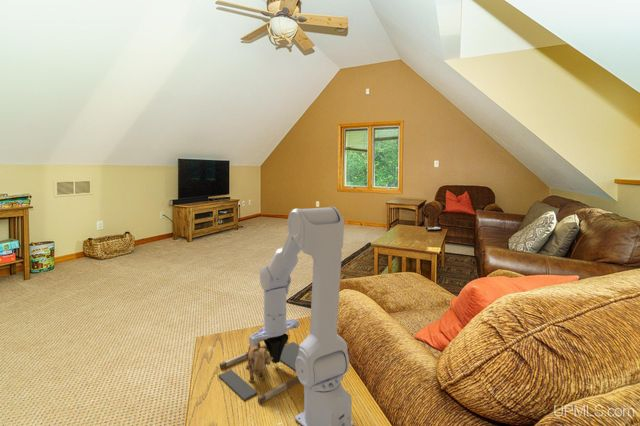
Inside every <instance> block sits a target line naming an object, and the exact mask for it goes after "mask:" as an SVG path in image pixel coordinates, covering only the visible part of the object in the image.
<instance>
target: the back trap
mask: <svg viewBox="0 0 640 426" xmlns="http://www.w3.org/2000/svg"><path fill="white" fill-rule="evenodd" d="M299 346H300V344H297V343H295V342H294V341H292V342H290V343H286V344H285V346H284V348H283V351H282V354H281V357H280V361H279V362H281V363H283V364H284V365H285V366H287V367H288V368H290V369H292V370H293V371H294V372H296V368H295V362H296V359H297V356H298V353H299Z"/></svg>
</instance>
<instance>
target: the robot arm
mask: <svg viewBox="0 0 640 426" xmlns="http://www.w3.org/2000/svg"><path fill="white" fill-rule="evenodd" d="M344 230H345V220H344V217H343V216H342V214H341V212H340V211H339V210H338V207H337V208H336V207H335V206H327V207H315V208H293V209H292V210H291V211H290V212H289V214H288V217H287V231H288V234H287V237H286V239H285V242H284V244H283V247H280V248H277V249H276V251H275V252H274V255H272V258H271V261H270V262H269V264H268V265H267V266H262V267H261V268H260V271H259V283H260V286H261V288H262V289H263V327H261V328H260V329H259V330H257V331H256V332H254V333H253V334H251V335H248V344H249V345H250V344H251V345H253V346H255V345H257V343H260V342H264V345H265V344H266V346H267V348H268V349H267V351H268V354H269V356H271V357H273V359H272V361H271V363H274V364H277V363H280V362H281V361H280V357H281V354H282V351H283V348H284V346H285V345H287V342H288V341H289V335H288V333H287V332H288V331H290V330H292V329H298V328H300V326H299V325H300V324H299V323H300V321H299V320H298V319H296V318H291V319H287V295H288V294H289V287H290V286H291V281H292V278H291V274H292V273H293V270H294V269H295V268H296V266H297V265H298V262H299V258H298V257H299V256H298V254H299V253H300V252H303V254H305V255H308V256H311V257H312V260H313V261H312V262H313V263H312V282H311V283H312V285H311V286H312V287H311V306H310V307H311V308H310V323H309V324H310V325H309V327H310V328H309V329H310V330H309V334H308V335H307V336H306V337H305V338H304V340H303V341H302V342H301V343H300V344H299V353H298V356H297V359H296V362H295V368H296V371H295V373H296V376H298V379H299V381H300V384H301V385H303V386H304V388H303V389H304V391H303V393H304V397H303V398H304V400H303V401H304V403H303V405H304V409H303V411H301V412H300V413H299V414H297V415H296V416H295V417H294V419H295V421H297V423H299V424H300V425H301V426H354V425H355V424H354V421H353V420H352V403H353V402H352V401H353V400H352V396H351V393H349V392H348V391H347V390H346V389H345V388H344V385H342V381H343V380H344V375H345V374H347V373H348V371H349V370H350V358H349V357H350V356H349V353H348V343H347V342H346V341H345V339H344V338H343V337H342V336H341V335H339V334H337V333H338V332H337V331H338V317H339V301H340V300H339V299H340V288H341V287H340V286H341V270H342V257H343V256H342V254H343V252H342V249H343V246H344V235H345V234H344V233H345V231H344Z"/></svg>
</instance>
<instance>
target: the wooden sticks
mask: <svg viewBox="0 0 640 426" xmlns="http://www.w3.org/2000/svg"><path fill="white" fill-rule="evenodd" d="M260 346H261V348H265V350H266V351H268V348H267V346H266V344H265V343H264V344H262V345H260ZM246 359H248V351H245V352H244V353H241V354H238V355H237V356H234V357H232V358H230V359H227V360H225V361H223V362H220V363H219V369H220V370H222V369H225V368H227V367H229V366H232V365H234V364H236V363H239V362H241V361H243V360H246ZM299 382H300V381H299V379H298V376H297V375H296V376H294V377H292V378H290V379H288V380H286V381H285V382H283V383H281V384H279V385H278V386H275V387H273V388H272V389H270V390H268V391H266V392H264V393H263V394H261V395H259V396H258V397H257V403H258V404H262V403H263V402H267V400H269V399H271V398H273V397H275V396H276V395H279V394H280V393H283V392H284V391H285V390H287V389H289V388H290V387H293V386H294V385H296V384H298V383H299ZM300 383H301V382H300Z"/></svg>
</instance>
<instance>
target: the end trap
mask: <svg viewBox="0 0 640 426" xmlns="http://www.w3.org/2000/svg"><path fill="white" fill-rule="evenodd" d="M217 376H218V378H220V379H221V380H222V381H223V383H225V384H226V385H227V386H228V387H229V388H230V389H231V390H232V391H233V392H234V393H235V394H236V395H238V396H239V397H240V399H242V400H243V401H246V400H247V401H248V399H250V398H253V397H254V396H256V395H258V391H257V390H256V389H255V388H253V386H251V385H250V384H249V383H247V381H245V380H244V379H243V378H241V377H240V376H239V375H238V374H237V373H236V372H235V371H234V370H233V369H228V370H226V371H224V372H222V373H220V374H218V375H217Z"/></svg>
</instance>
